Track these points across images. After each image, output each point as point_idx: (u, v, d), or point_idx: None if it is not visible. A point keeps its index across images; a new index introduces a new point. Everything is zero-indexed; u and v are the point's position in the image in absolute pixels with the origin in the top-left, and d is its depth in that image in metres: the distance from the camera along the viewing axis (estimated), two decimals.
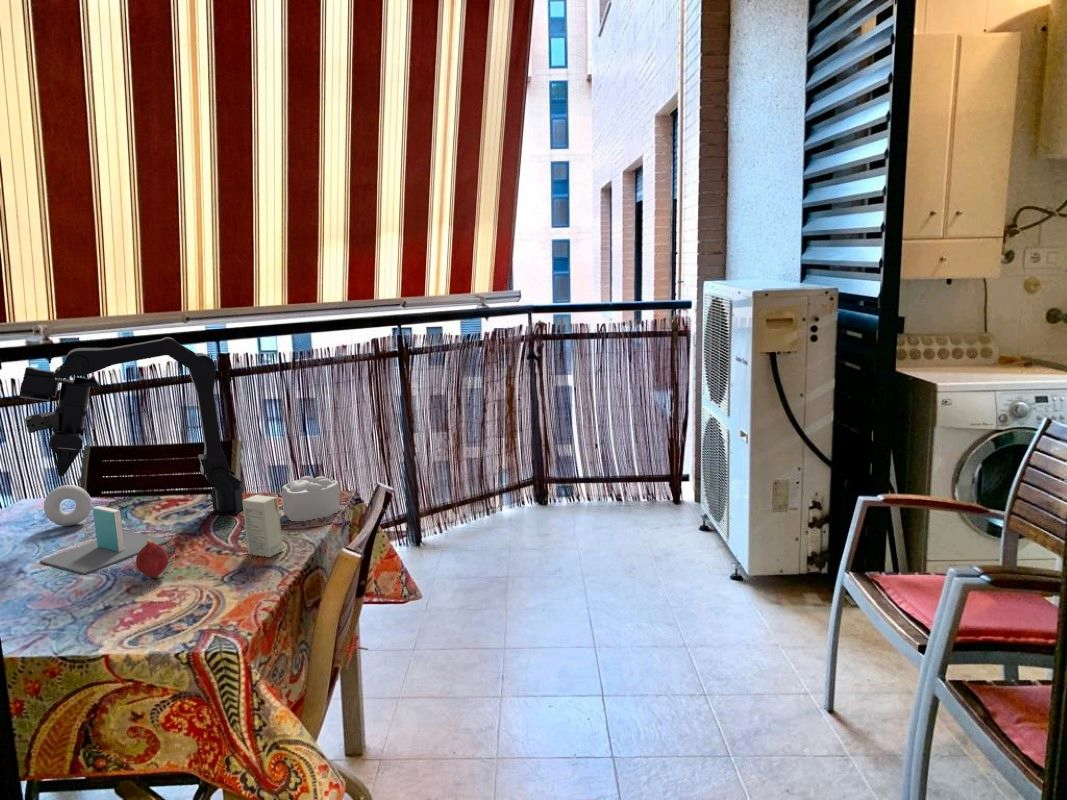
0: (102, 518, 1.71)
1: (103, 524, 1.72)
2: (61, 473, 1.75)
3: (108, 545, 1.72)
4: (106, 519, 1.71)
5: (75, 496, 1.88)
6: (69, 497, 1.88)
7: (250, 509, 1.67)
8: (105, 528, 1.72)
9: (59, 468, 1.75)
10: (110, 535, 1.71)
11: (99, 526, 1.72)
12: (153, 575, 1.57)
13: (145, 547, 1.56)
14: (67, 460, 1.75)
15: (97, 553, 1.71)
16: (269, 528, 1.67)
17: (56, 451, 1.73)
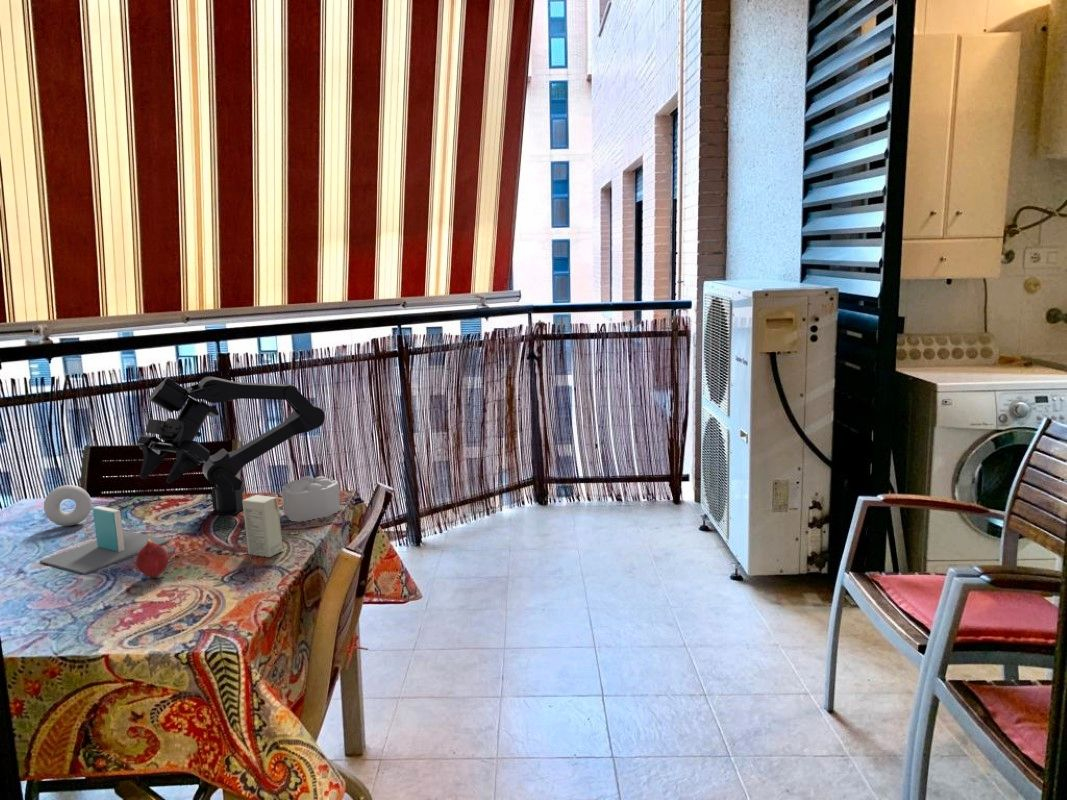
0: (102, 518, 1.71)
1: (103, 524, 1.72)
2: (170, 480, 1.80)
3: (108, 545, 1.72)
4: (106, 519, 1.71)
5: (75, 496, 1.88)
6: (69, 497, 1.88)
7: (250, 509, 1.67)
8: (105, 528, 1.72)
9: (173, 474, 1.80)
10: (110, 535, 1.71)
11: (99, 526, 1.72)
12: (153, 575, 1.57)
13: (145, 547, 1.56)
14: (182, 469, 1.82)
15: (97, 553, 1.71)
16: (269, 528, 1.67)
17: (182, 457, 1.81)
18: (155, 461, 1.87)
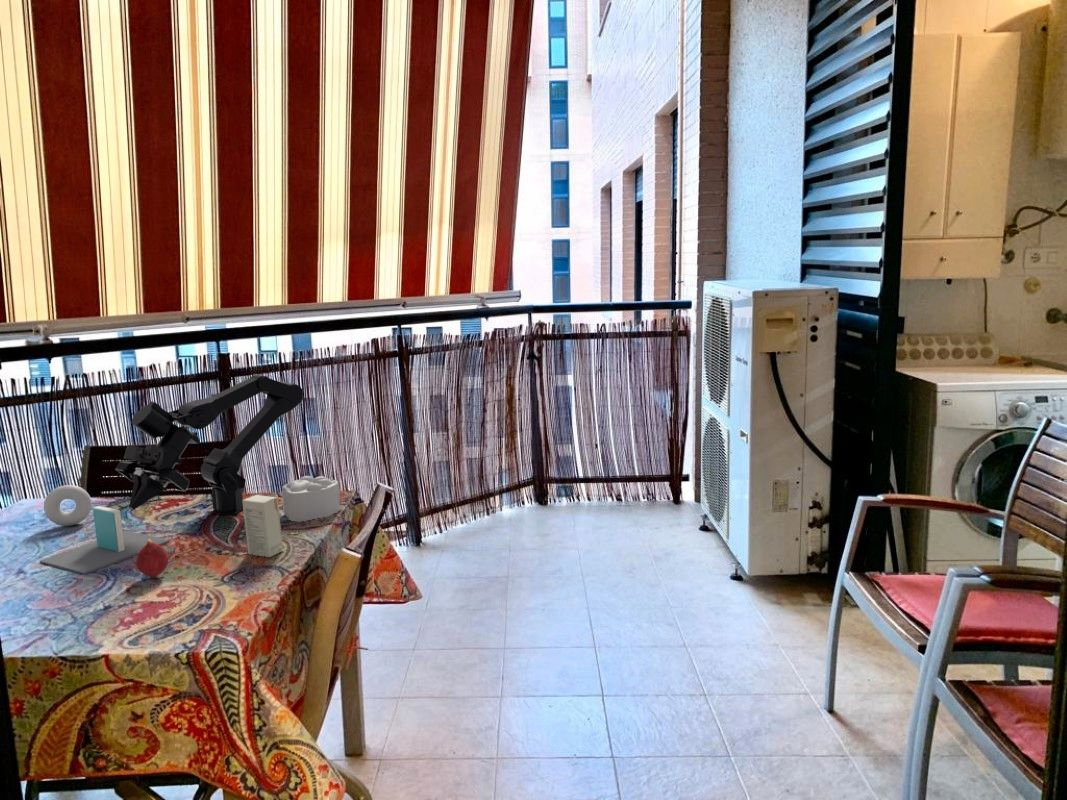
0: (102, 518, 1.71)
1: (103, 524, 1.72)
2: (134, 505, 1.77)
3: (108, 545, 1.72)
4: (106, 519, 1.71)
5: (75, 496, 1.88)
6: (69, 497, 1.88)
7: (250, 509, 1.67)
8: (105, 528, 1.72)
9: (137, 500, 1.77)
10: (110, 535, 1.71)
11: (99, 526, 1.72)
12: (153, 575, 1.57)
13: (145, 547, 1.56)
14: (147, 495, 1.79)
15: (97, 553, 1.71)
16: (269, 528, 1.67)
17: (147, 483, 1.78)
18: None
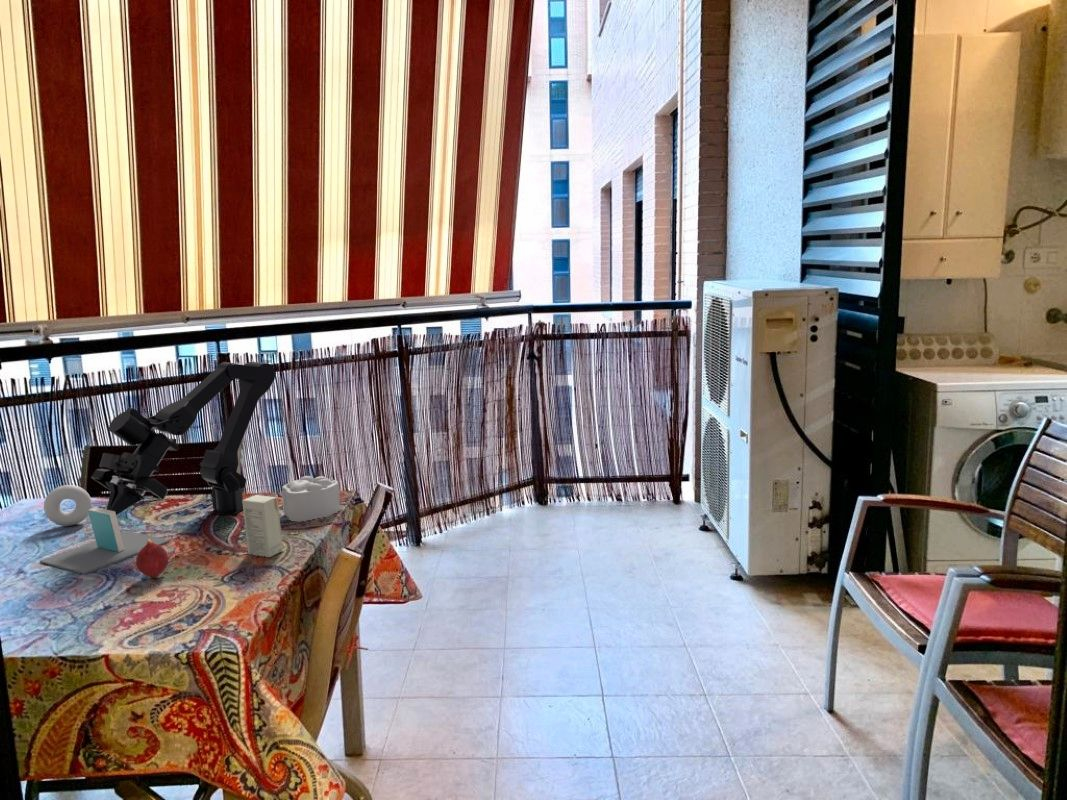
0: (98, 520, 1.71)
1: (100, 525, 1.71)
2: None
3: (107, 545, 1.72)
4: (102, 521, 1.70)
5: (75, 496, 1.88)
6: (69, 497, 1.88)
7: (250, 509, 1.67)
8: (102, 529, 1.71)
9: (114, 509, 1.72)
10: (108, 536, 1.71)
11: (96, 527, 1.72)
12: (153, 575, 1.57)
13: (145, 547, 1.56)
14: (124, 504, 1.74)
15: (97, 553, 1.71)
16: (269, 528, 1.67)
17: (124, 492, 1.73)
18: None
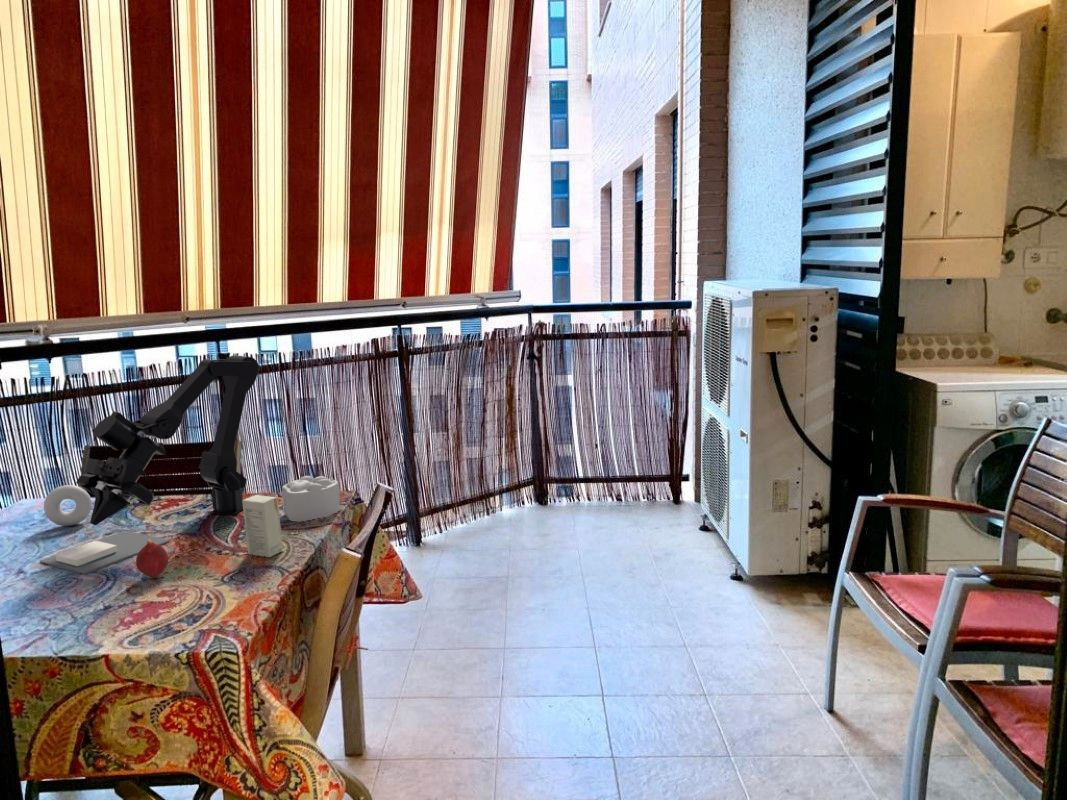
0: None
1: None
2: (95, 521, 1.69)
3: None
4: None
5: (75, 496, 1.88)
6: (69, 497, 1.88)
7: (250, 509, 1.67)
8: None
9: (99, 516, 1.69)
10: None
11: None
12: (153, 575, 1.57)
13: (145, 547, 1.56)
14: (110, 510, 1.71)
15: None
16: (269, 528, 1.67)
17: (109, 497, 1.70)
18: None
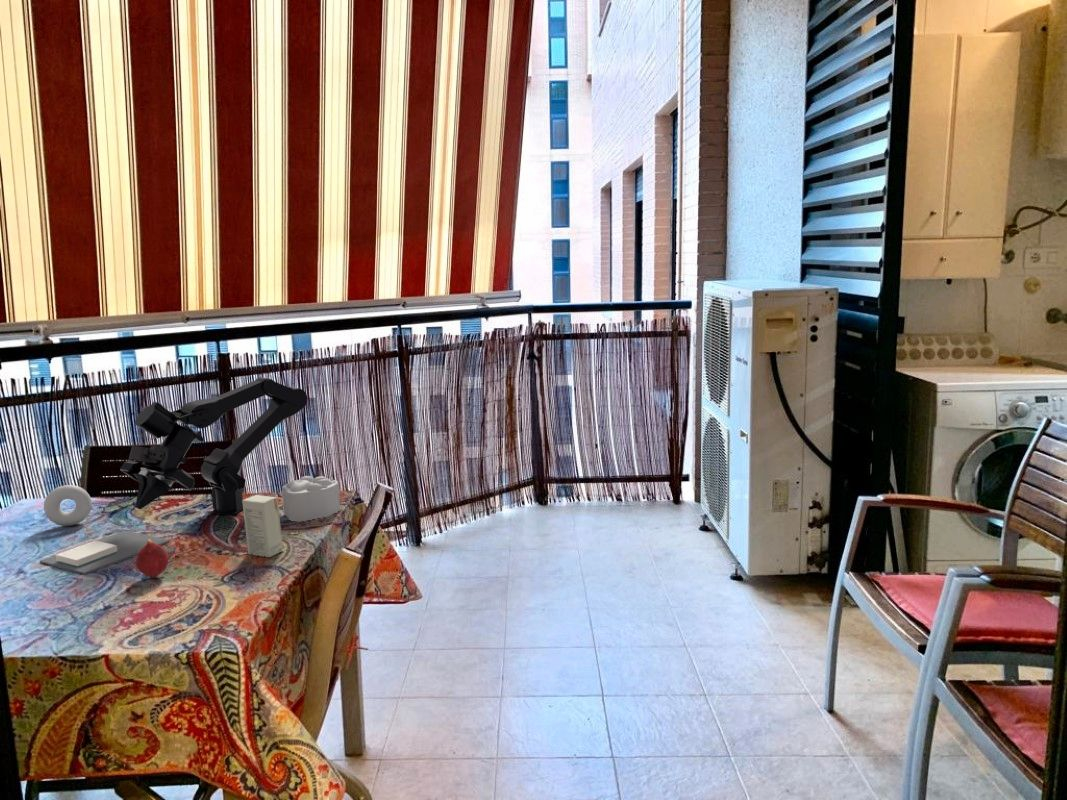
0: None
1: None
2: (140, 505, 1.79)
3: None
4: None
5: (75, 496, 1.88)
6: (69, 497, 1.88)
7: (250, 509, 1.67)
8: None
9: (143, 500, 1.79)
10: None
11: None
12: (153, 575, 1.57)
13: (145, 547, 1.56)
14: (153, 495, 1.80)
15: None
16: (269, 528, 1.67)
17: (153, 483, 1.79)
18: None
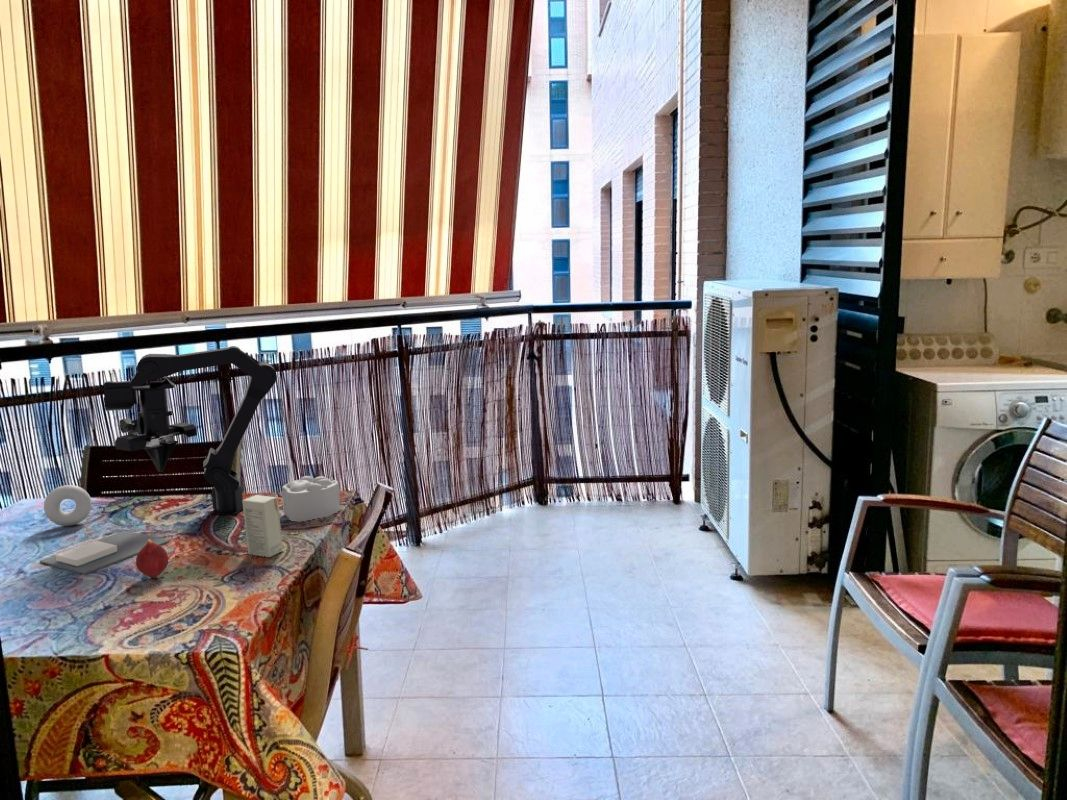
0: None
1: None
2: (158, 468, 1.90)
3: None
4: None
5: (75, 496, 1.88)
6: (69, 497, 1.88)
7: (250, 509, 1.67)
8: None
9: (155, 464, 1.90)
10: None
11: None
12: (153, 575, 1.57)
13: (145, 547, 1.56)
14: (156, 457, 1.89)
15: None
16: (269, 528, 1.67)
17: (145, 448, 1.89)
18: None
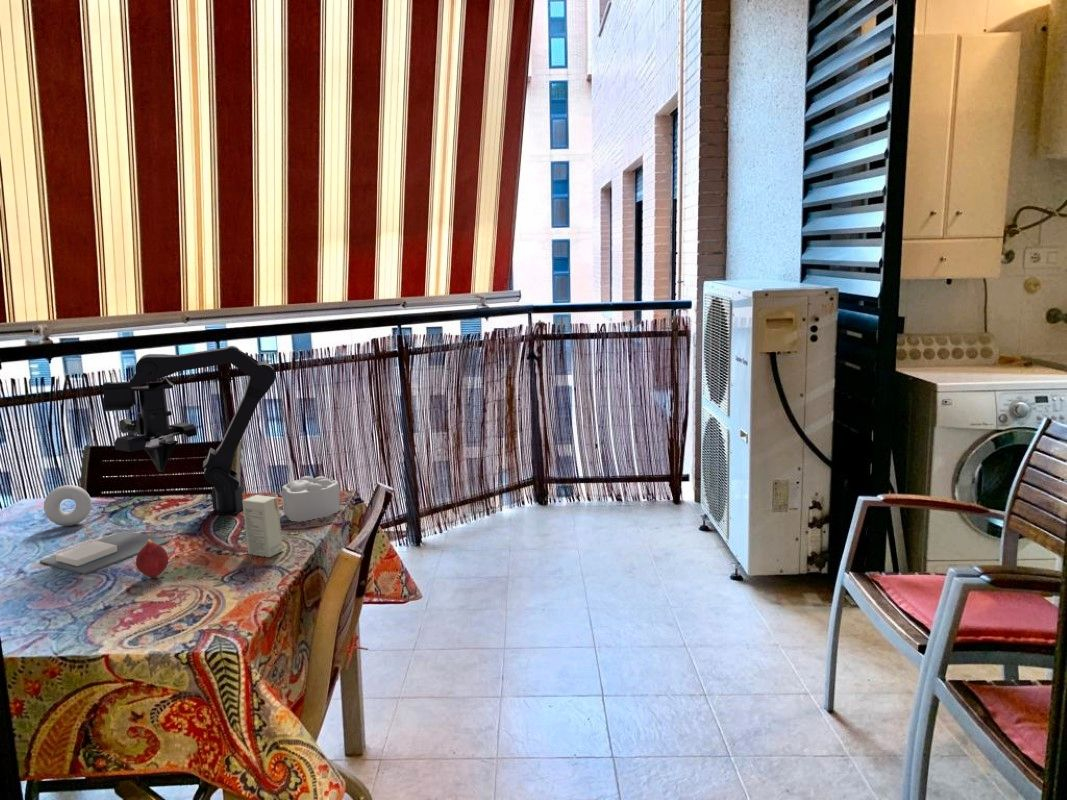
0: None
1: None
2: (159, 469, 1.91)
3: None
4: None
5: (75, 496, 1.88)
6: (69, 497, 1.88)
7: (250, 509, 1.67)
8: None
9: (155, 464, 1.90)
10: None
11: None
12: (153, 575, 1.57)
13: (145, 547, 1.56)
14: (156, 457, 1.89)
15: None
16: (269, 528, 1.67)
17: (145, 449, 1.89)
18: None
